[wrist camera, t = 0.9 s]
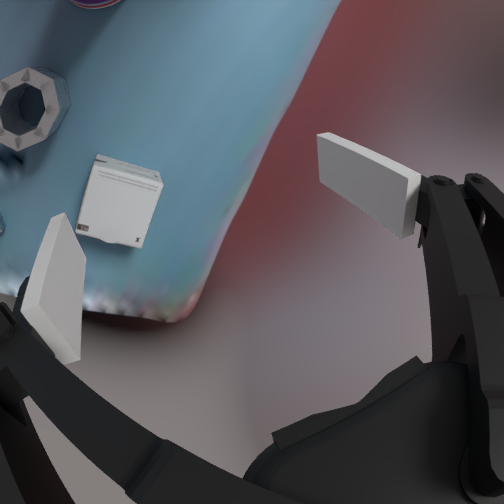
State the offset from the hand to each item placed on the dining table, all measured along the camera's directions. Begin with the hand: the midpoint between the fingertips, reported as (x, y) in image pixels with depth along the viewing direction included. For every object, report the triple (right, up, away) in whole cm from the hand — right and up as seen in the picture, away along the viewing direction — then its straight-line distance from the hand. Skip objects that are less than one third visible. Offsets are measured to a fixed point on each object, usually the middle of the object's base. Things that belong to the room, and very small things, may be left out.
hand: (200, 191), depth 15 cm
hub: (-20, +13, +10) cm, 25 cm away
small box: (-13, +4, +19) cm, 23 cm away
